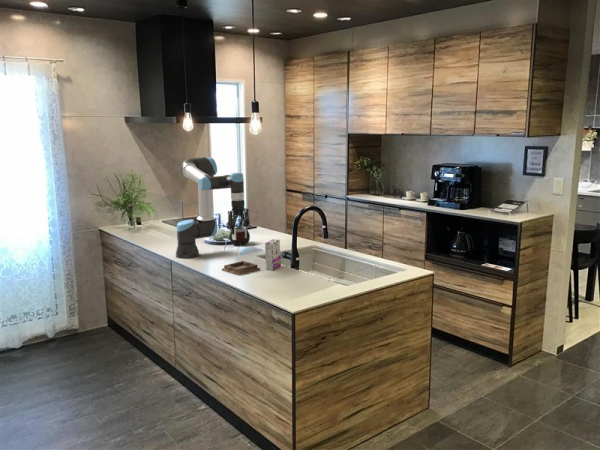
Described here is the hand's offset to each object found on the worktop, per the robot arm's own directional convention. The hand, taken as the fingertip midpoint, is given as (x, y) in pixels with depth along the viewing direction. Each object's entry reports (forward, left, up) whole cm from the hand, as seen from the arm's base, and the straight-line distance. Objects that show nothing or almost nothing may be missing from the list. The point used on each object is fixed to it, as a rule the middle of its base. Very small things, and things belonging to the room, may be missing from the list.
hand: (239, 238), depth 303 cm
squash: (-55, +42, -19) cm, 72 cm away
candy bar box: (+11, +16, -19) cm, 27 cm away
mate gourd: (0, +1, -2) cm, 2 cm away
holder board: (0, 0, -19) cm, 19 cm away
